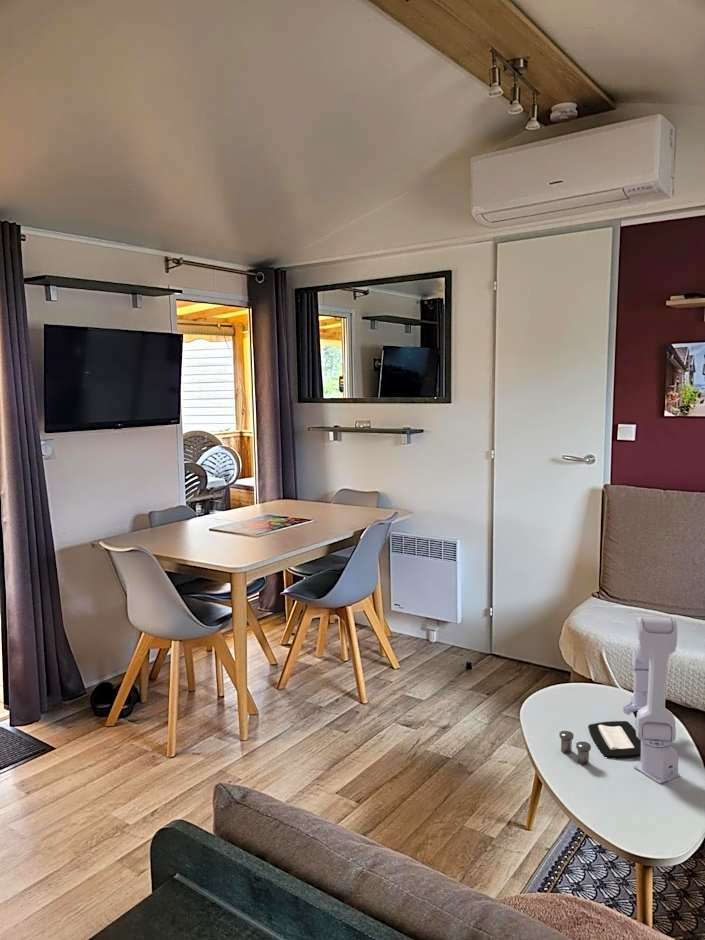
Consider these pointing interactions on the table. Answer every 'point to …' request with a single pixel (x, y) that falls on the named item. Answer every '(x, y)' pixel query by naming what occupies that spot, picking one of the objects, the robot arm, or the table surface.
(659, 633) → the robot arm
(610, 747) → the light switch
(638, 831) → the table surface
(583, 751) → the metal bosses
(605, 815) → the table surface
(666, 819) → the table surface
